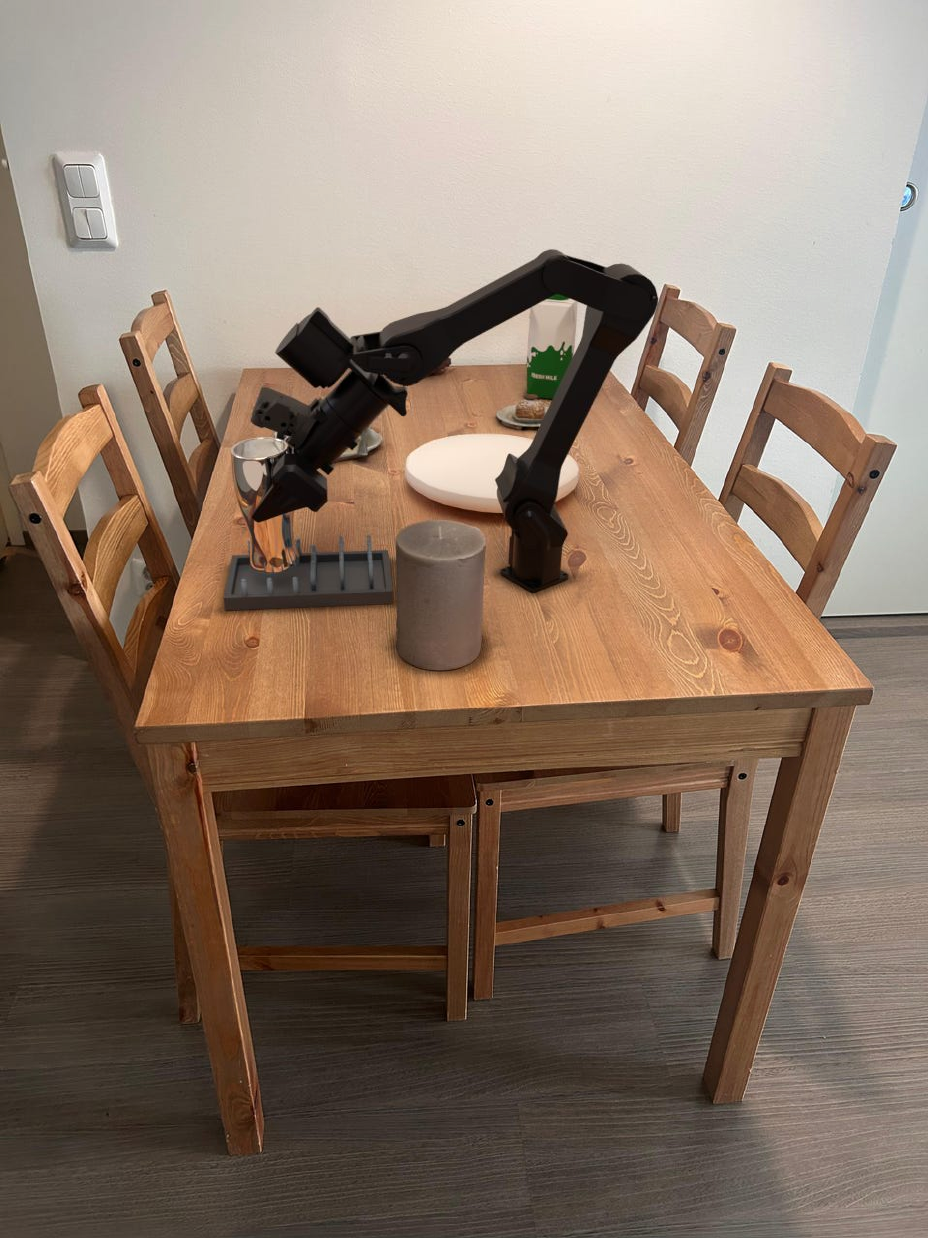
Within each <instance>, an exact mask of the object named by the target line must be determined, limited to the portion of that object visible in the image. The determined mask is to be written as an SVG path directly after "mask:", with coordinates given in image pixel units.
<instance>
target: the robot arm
mask: <svg viewBox="0 0 928 1238" xmlns="http://www.w3.org/2000/svg"><path fill="white" fill-rule="evenodd" d="M557 294H559V295H562V296H565V297H567V298H570V299H572V300H575V301H577V302H578V303H580V304H582V305H585V306H586V308H585V313H584V320H583V327H582V335H581V338H580V341H579V343H578V346H577V348H576V350H575V351H574V356H573V358H572V360H571V362H570V364H569V366H568V368H567V370H566V373H565V375H564V377H563V379H562V381H561V383H560V385H559V387H558V389H557V391H556V393H555V395H554V398H553V399H551V401H550V404H549V405H548V410H547V412H546V414H545V416H544V418H543V421H542V423H541V425H540V427H538V429H537V431H536V433H535V436H534V437H533V441H532V443H531V445H530V447H529V448H528V449H527V450H526V451H525V452H524V453H523V454H522V455H521V456H520V457H519V458H517V457H515V456H514V455H512V454H508V456H507V458H506V462H505V465H504V468H503V470H502V472H501V474H500V475H499V476H498V477H497V478H496V479H495V482H496V484H497V487H498V488H497V498H498V501H499V504H500V506H501V509H502V512H503V513H502V515H503V518H504V520H505V522H506V524H507V526H509V527H510V529H511V531H510V532H511V533H510V536H509V542H508V543H509V545H508V560H507V564H508V566H506V567H503V568H501V569H500V570H499V571H500V575H502V576H503V577H505V578H507V579H509V580H510V581H511V582H513V583H515V584H517V585H519V586H521V587H522V588H524V589H525V590H527V591H529V592H532V593H536V592H538V591H540V590H543V589H545V588H549V587H551V586H553V585H556V584H559V583H560V582H561V583H562V582H564V581H565V580H568V579H569V575H570V574H568V573H567V572H565V571H563V570H562V557H563V546H564V544H565V542H566V539H567V538H568V535H569V532H568V530H567V527H566V526H565V524H564V522H563V520H562V518H561V516H560V514H559V511H558V509H557V508H556V506H555V504H556V502H557V501H556V498H557V493H558V486H559V479H560V472H561V468H562V465H563V463H564V461H565V459H566V457H567V455H569V453H570V451H571V449H572V447H573V445H574V443H575V442H576V441H575V440H576V439H577V437H578V435H579V433H580V431H581V429H582V427H583V425H584V423H585V421H586V419H587V418H588V414H589V413H590V411H591V409H592V407H593V405H594V403H595V401H596V399H597V397H598V395H599V393H600V391H601V389H602V387H603V385H604V383H605V381H606V379H607V377H608V375H609V373H610V371H611V369H612V367H613V365H614V363H615V361H616V360H617V358H618V357H619V356H620V355H621V354H622V353H624V351H626V349H628V347H629V346H631V345H632V344H634V342H635V341H636V340H637V339H638V338H639V336H640V335H641V334H642V332H643V330H644V329H645V328H646V326H648V323H649V322H650V321H651V320H652V318H653V316H654V315H655V314H656V311H657V308H658V305H659V296H658V292H657V288H656V286H655V284H654V283H653V282H652V280H651V279H649V278H648V277H647V276H645V275H644V274H642V273H641V272H639V270H637V269H635V267H632V265H630V264H626V263H613V264H612V265H609V266H604V265H601V264H598V263H595V262H593V261H589V260H585V259H582V258H579V257H575V256H570V255H567V254H565V253H563V252H562V251H560V250H558V249H555V248H554V249H553V248H552V249H551V248H549V249H547V250H544V251H542V252H541V253H539V255H537V256H536V257H535V258H533V259H532V260H530V261H528V262H526V263H525V264H523V265H521V266H519V267H518V268H515V269H513V270H512V271H510V272H507V273H506V274H504V275H502V276H500V277H499V278H497V279H495V280H494V281H491V282H490V283H488V284H486V285H484V286H482V287H480V288H478V289H476V290H475V291H472V292H471V293H469V294H468V295H466V296H463V297H462V298H460V299H458V300H456V301H455V302H452V303H450V304H449V305H447V306H445V307H441V308H438V309H435V310H431V311H425V312H419V313H415V314H412V315H410V316H409V315H408V316H407V317H404V318H400V319H397V320H394V321H392V322H390V323H388V324H387V325H386V326H384V327H383V328H382V330H381V331H380V330H379V331H375V332H369V333H363V334H357V335H352V336H350V337H349V336H348V335H346V333H345V332H344V331H342V330H341V328H339V327H338V326H337V325H336V324H335V323H334V322H333V321H332V320H331V318H330V317H329V315H328V314H327V313H326V312H325V311H324V310H323V309H322V308H321V307H319V306H318V307H315V309H313V310H312V312H311V313H310V314H307V316H305V317H304V318H302V319H301V320H300V322H296V323H295V324H294V325H293V327H292V328H290V330H289V331H288V332H287V333H286V335H285V336H284V337H283V339H282V340H281V341H280V343H279V344H278V346H277V347H276V349H275V352H274V354H275V355H277V356H278V357H279V358H280V359H281V360H282V361H283V362H285V363H286V364H287V365H288V366H289V367H290V368H291V369H292V370H293V371H295V372H296V373H297V374H298V375H299V376H300V377H301V378H303V379H304V380H305V381H306V382H307V383H308V384H309V385H310V386H312V388H314V389H316V388H319V387H320V388H322V389H323V390H324V389H326V388H328V389H329V388H331V387H333V386H334V385H335V384H336V383H337V382H338V381H339V380H340V379H341V378H342V376H344V374H345V373H346V372H347V371H348V370H349V369H350V371H348V373H347V374H345V376H344V377H343V378H342V379H341V380H340V381H339V382H338V383H337V384H336V385H335V386H334V387H333V388H332V389H331V391H330V392H329V393H328V394H327V395H326V396H325V397H324V398H322V397H319V398H314V399H313V401H311V403H310V404H307V403H304V402H302V401H300V400H298V399H297V398H295V397H293V396H290V395H288V394H284V393H282V392H280V391H277V390H275V389H273V388H270V387H267V386H262V387H261V388H260V391H259V392H258V396H257V398H256V401H255V403H254V406H253V409H252V412H251V417H250V423H251V424H252V425H254V426H255V427H257V428H261V429H264V428H265V429H267V430H270V431H273V432H277V437H276V438H278V439H281V440H284V441H285V442H286V443H287V444H288V448H289V454H284V455H283V456H282V457H281V458H280V459H279V461H278V462H277V464H276V465H274V464H273V465H272V471H271V477H272V482H273V484H272V485H271V487H270V488H269V490H268V491H267V493H266V494H265V496H264V497H263V499H262V500H261V502H260V503H259V505H258V506H257V508H256V509H255V511H254V513H253V514H252V519H253V520H254V521H256V522H257V523H260V522H263V521H266V520H268V519H271V518H274V517H277V516H280V515H282V514H286V513H288V512H292V511H294V512H295V511H298V510H302V509H305V508H307V509H309V510H310V511H311V512H314V513H318V512H319V511H320V510H321V509H322V507H324V506H325V505H326V503H327V502H328V500H329V499H328V494H329V493H328V489H329V487H328V478H327V477H326V476H325V475H323V474H322V473H321V472H320V471H319V469H320V470H321V471H322V472H323V473H324V474H326V475H327V476H329V475H330V474H331V473H332V472H333V471H334V470H335V463H336V462H335V461H336V460H337V459H338V458H339V457H340V456H341V455H342V454H343V453H344V452H345V451H346V450H347V449H348V448H350V449H351V450H353V449H354V448H355V447H356V446H357V445H358V437H359V436H360V435H361V434H362V433H363V432H364V431H365V430H366V429H367V428H368V427H369V428H370V426H371V425H372V424H373V423H374V422H375V421H376V420H377V419H378V418H379V416H381V414H383V413H384V412H385V410H387V409H388V407H389V406H390V407H391V408H392V409H393V410H394V411H395V412H397V414H398V415H400V417H405V416H407V413H408V412H407V398H408V393H409V392H408V389H407V387H410V386H412V385H417V384H418V383H420V382H422V381H423V380H424V379H425V378H427V377H428V376H429V374H430V373H432V372H433V371H434V370H436V369H437V368H438V367H439V366H441V365H442V364H443V363H444V362H445V361H446V360H447V359H448V358H450V357H451V356H452V355H453V353H455V351H456V350H458V349H459V348H460V347H461V346H463V345H464V344H466V343H468V342H470V341H472V340H473V339H475V338H478V337H479V336H481V335H483V334H484V333H487V332H488V331H490V330H492V329H494V328H495V327H498V326H500V325H501V324H503V323H505V322H507V321H509V320H511V319H513V318H514V317H516V316H518V315H520V314H522V313H523V312H525V311H527V310H529V309H530V308H531V307H533V306H535V305H537V304H539V303H541V302H542V301H544V300H546V299H548V298H550V297H552V296H554V295H557ZM432 374H433V373H432ZM430 375H431V374H430ZM393 383H394V384H397V386H396V385H394V384H393ZM398 385H399V386H398ZM555 501H556V502H555Z"/></svg>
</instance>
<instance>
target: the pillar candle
mask: <svg viewBox="0 0 928 1238" xmlns="http://www.w3.org/2000/svg"><path fill="white" fill-rule="evenodd" d="M486 545H487V538H486V537H485V535H484V533H482V531H481V529H479V528H478V527H477V526H473V525H470V524H467V523H463V522H460V521H457V520H456V521H455V520H450V519H448V520H447V519H429V520H423V521H418V522H414V523H412V524H408V525H407V526H405V527H404V528H403V529H400V530H399V532H398V533H397V535H396V537H395V599H396V624H395V625H396V644H395V648H396V650H397V653H398V654H397V655H398V656H399V657H401V659H402V660H403V661H405V662H406V663H407V664H409V665H411V666H414V667H416V668H418V669H419V668H420V669H423V670H428V671H451V670H457V669H460V668H463V667H465V666H468V665H470V664H472V663H473V662H474V661H475V660H477V658H478V657H479V655H480V653H481V648H482V638H483V620H484V619H483V617H484V591H485V569H486V568H485V565H486V547H487V546H486Z"/></svg>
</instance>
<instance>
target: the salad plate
mask: <svg viewBox="0 0 928 1238" xmlns="http://www.w3.org/2000/svg"><path fill="white" fill-rule="evenodd" d="M273 432H274V433H273V438H276V437H277V432H275V431H273ZM382 442H383V436H382V435H381V434H380V433H378V432H377V431H375V430H373V429H372V428H370V426H369V427H368V428H367V429H366V430H365V431H364V432H363V433H362V434H361V435H360V436H359V437H358V445H357V446H356V447H355V448H354V449H353V450H351V449H350V448H348V449H347V450H346V451H345V452H344V453H343V454H342V455H341V456H340V457H339V458H338V459H337V460H336V461H335V462H334V463H339V462H343V461H348V460H353V459H358V458H361V457H366V456H368V455H369V452H371V451H372V450H374V449H376V448H378V447H379V446H380V445H381V444H382Z"/></svg>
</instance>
